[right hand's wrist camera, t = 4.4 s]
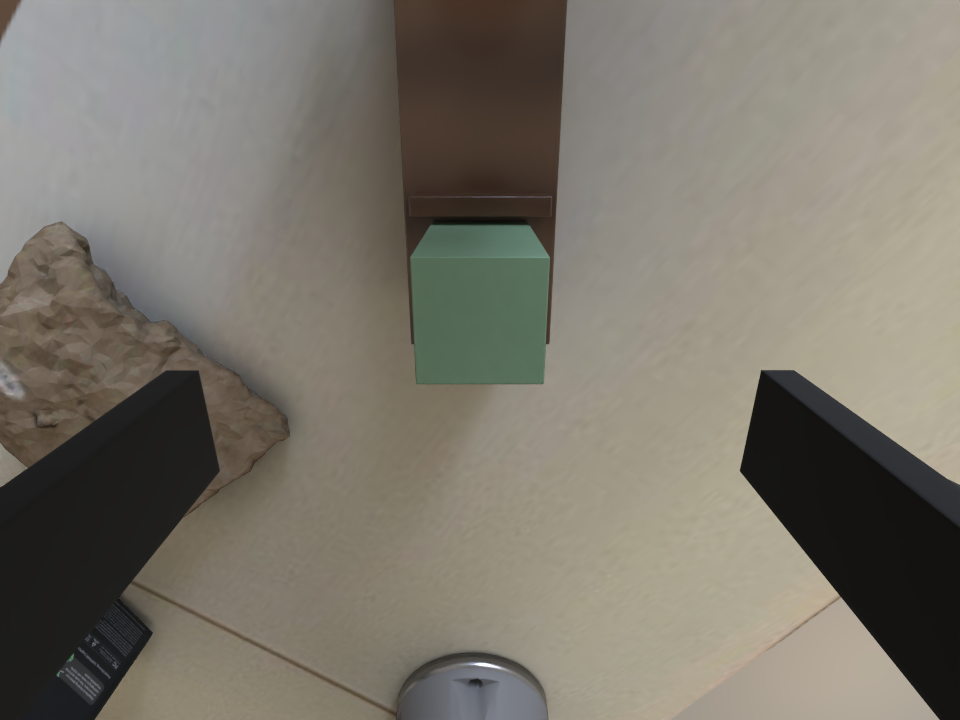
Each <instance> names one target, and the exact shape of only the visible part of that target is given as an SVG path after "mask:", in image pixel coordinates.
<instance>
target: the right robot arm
mask: <svg viewBox="0 0 960 720" xmlns="http://www.w3.org/2000/svg"><path fill="white" fill-rule="evenodd" d="M219 472H220V468H219V463H218V459H217V454H216V449H215V445H214V440H213V435H212V430H211V426H210V421H209V416H208V412H207V407H206V402H205V397H204V393H203V388H202V383H201V379H200V374H199V370H166V371H164V372H163V373H162V374H160V375H159V376H157V377H156V378H154V379H153V380H152V381H150V382H149V383H147V384H146V385H145V386H143V387H142V388H140V389H139V390H138V391H136V392H135V393H133V394H132V395H131V396H129V397H128V398H126V399H125V400H123V401H122V402H121V403H119V404H118V405H116V406H115V407H114V408H112V409H111V410H109V411H108V412H107V413H105V414H104V415H102V416H101V417H100V418H98V419H97V420H95V421H94V422H92V423H91V424H90V425H88V426H87V427H85V428H84V429H83V430H81V431H80V432H78V433H77V434H76V435H74V436H73V437H71V438H70V439H69V440H67V441H66V442H64V443H63V444H61V445H60V446H59V447H57V448H56V449H54V450H53V451H52V452H50V453H49V454H47V455H46V456H45V457H43V458H42V459H40V460H39V461H38V462H36V463H35V464H33V465H32V466H30V467H29V468H28V469H26V470H25V471H23V472H22V473H21V474H19V475H18V476H16V477H15V478H14V479H12V480H11V481H9V482H8V483H6V484H5V485H4V486H2V487H0V720H20V719H21V718H22V717H23V716H24V714H25V713H26V712H27V711H28V709H29V708H30V707H31V706H32V705H33V703H34V702H35V701H36V700H37V698H38V697H39V696H40V695H41V693H42V692H43V691H44V690H45V688H46V687H47V686H48V685H49V683H50V682H51V681H52V680H53V678H54V677H55V676H56V675H57V673H58V672H59V671H60V670H61V668H62V667H63V666H64V665H65V663H66V662H67V661H68V660H69V658H70V657H71V656H72V655H73V653H74V652H75V651H76V650H77V649H78V647H79V646H80V645H81V644H82V642H83V641H84V640H85V639H86V637H87V636H88V635H89V634H90V632H91V631H92V630H93V629H94V627H95V626H96V625H97V624H98V622H99V621H100V620H101V619H102V617H103V616H104V615H105V614H106V612H107V611H108V610H109V609H110V607H111V606H112V605H113V604H114V602H115V601H116V600H117V599H118V597H119V596H120V595H121V594H122V592H123V591H124V590H125V589H126V588H127V586H128V585H129V584H130V583H131V581H132V580H133V579H134V578H135V576H136V575H137V574H138V573H139V571H140V570H141V569H142V568H143V566H144V565H145V564H146V563H147V561H148V560H149V559H150V558H151V556H152V555H153V554H154V553H155V551H156V550H157V549H158V548H159V546H160V545H161V544H162V543H163V541H164V540H165V539H166V538H167V536H168V535H169V534H170V533H171V532H172V530H173V529H174V528H175V527H176V525H177V524H178V523H179V522H180V520H181V519H182V518H183V517H184V515H185V514H186V513H187V512H188V510H189V509H190V508H191V507H192V505H193V504H194V503H195V502H196V500H197V499H198V498H199V497H200V495H201V494H202V493H203V492H204V490H205V489H206V488H207V487H208V485H209V484H210V483H211V482H212V480H213V479H214V478H215V477H216V475H217V474H218V473H219ZM740 472H741V473H742V474H743V475H744V477H745V478H746V479H747V480H748V482H749V483H750V484H751V485H752V487H753V488H754V489H755V490H756V492H757V493H758V494H759V495H760V497H761V498H762V499H763V500H764V502H765V503H766V504H767V505H768V507H769V508H770V509H771V510H772V512H773V513H774V514H775V515H776V517H777V518H778V519H779V520H780V522H781V523H782V524H783V525H784V527H785V528H786V529H787V530H788V532H789V533H790V534H791V535H792V536H793V538H794V539H795V540H796V541H797V543H798V544H799V545H800V546H801V548H802V549H803V550H804V551H805V553H806V554H807V555H808V556H809V558H810V559H811V560H812V561H813V563H814V564H815V565H816V566H817V568H818V569H819V570H820V571H821V573H822V574H823V575H824V576H825V578H826V579H827V580H828V581H829V583H830V584H831V585H832V586H833V588H834V589H835V590H836V591H837V592H838V594H839V595H840V596H841V597H842V599H843V600H844V601H845V602H846V604H847V605H848V606H849V607H850V609H851V610H852V611H853V612H854V614H855V615H856V616H857V617H858V619H859V620H860V621H861V622H862V624H863V625H864V626H865V627H866V629H867V630H868V631H869V632H870V633H871V635H872V636H873V637H874V638H875V640H876V641H877V642H878V644H879V645H880V646H881V647H882V649H883V650H884V651H885V652H886V653H887V655H888V656H889V657H890V658H891V660H892V661H893V662H894V663H895V665H896V666H897V667H898V668H899V670H900V671H901V672H902V673H903V675H904V676H905V677H906V678H907V680H908V681H909V682H910V683H911V685H912V686H913V687H914V688H915V690H916V691H917V692H918V693H919V695H920V696H921V697H922V698H923V700H924V701H925V702H926V703H927V705H928V706H929V707H930V708H931V709H932V711H933V712H934V713H935V714H936V716H937V717H938V718H939V719H940V720H960V485H959V484H957V483H955V482H952V481H950V480H948V479H946V478H945V477H944V476H942V475H941V474H939V473H938V472H937V471H935V470H934V469H932V468H931V467H930V466H928V465H927V464H925V463H924V462H922V461H921V460H920V459H918V458H917V457H915V456H914V455H913V454H911V453H910V452H908V451H907V450H906V449H904V448H903V447H901V446H900V445H899V444H897V443H896V442H894V441H893V440H891V439H890V438H889V437H887V436H886V435H884V434H883V433H882V432H880V431H879V430H877V429H876V428H875V427H873V426H872V425H870V424H869V423H868V422H866V421H865V420H863V419H862V418H860V417H859V416H858V415H856V414H855V413H853V412H852V411H851V410H849V409H848V408H846V407H845V406H844V405H842V404H841V403H839V402H838V401H837V400H835V399H834V398H832V397H831V396H829V395H828V394H827V393H825V392H824V391H822V390H821V389H820V388H818V387H817V386H815V385H814V384H813V383H811V382H810V381H808V380H807V379H806V378H804V377H803V376H801V375H800V374H798V373H797V372H796V371H794V370H761V374H760V379H759V383H758V388H757V393H756V397H755V402H754V407H753V412H752V416H751V421H750V426H749V430H748V435H747V440H746V445H745V449H744V454H743V459H742V463H741V468H740ZM396 720H548V711H547V703H546V696H545V693H544V690H543V688H542V686H541V684H540V683H539V681H538V680H537V679H536V678H535V677H534V675H533V674H531V673H530V672H529V671H528V670H527V669H525V668H524V667H522V666H521V665H519V664H517V663H515V662H513V661H511V660H508V659H506V658H502V657H499V656H495V655H490V654H482V653H461V654H454V655H449V656H445V657H442V658H439V659H436V660H433V661H431V662H429V663H427V664H425V665H424V666H422V667H420V668H419V669H418V670H416V671H415V672H414V673H413V674H412V675H411V676H410V677H409V678H408V679H407V680H406V682H405V683H404V685H403V687H402V689H401V692H400V695H399V699H398V706H397V713H396Z"/></svg>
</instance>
